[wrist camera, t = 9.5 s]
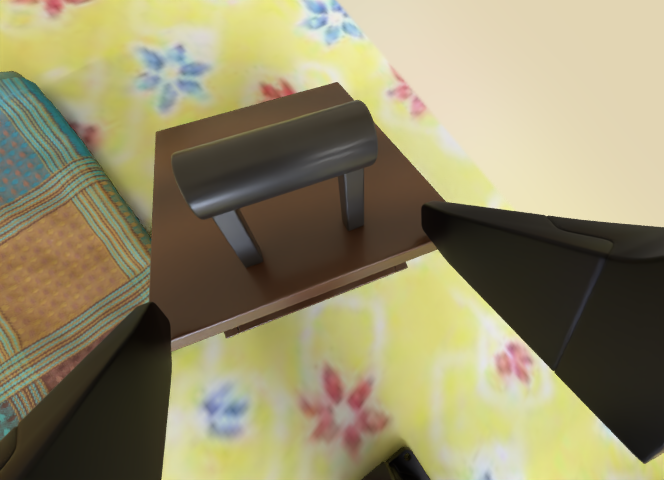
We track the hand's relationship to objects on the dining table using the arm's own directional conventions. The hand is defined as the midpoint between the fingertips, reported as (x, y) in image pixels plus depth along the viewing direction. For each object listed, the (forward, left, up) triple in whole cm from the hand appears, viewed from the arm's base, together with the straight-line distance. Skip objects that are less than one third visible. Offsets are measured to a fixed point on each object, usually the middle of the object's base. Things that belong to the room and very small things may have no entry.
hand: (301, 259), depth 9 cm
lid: (+4, -1, -4) cm, 6 cm away
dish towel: (+12, +17, -13) cm, 25 cm away
